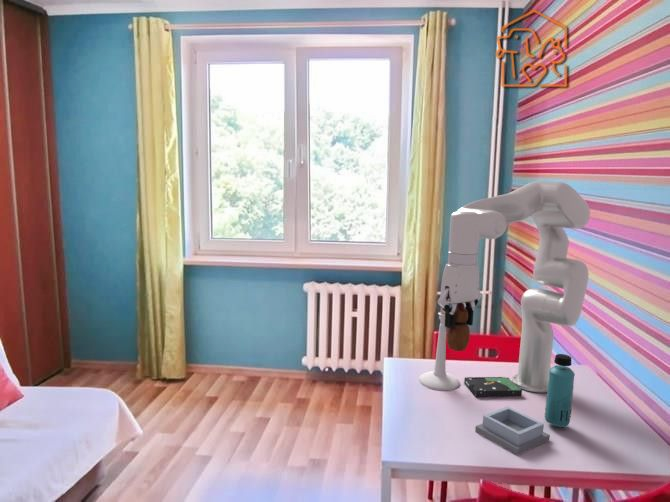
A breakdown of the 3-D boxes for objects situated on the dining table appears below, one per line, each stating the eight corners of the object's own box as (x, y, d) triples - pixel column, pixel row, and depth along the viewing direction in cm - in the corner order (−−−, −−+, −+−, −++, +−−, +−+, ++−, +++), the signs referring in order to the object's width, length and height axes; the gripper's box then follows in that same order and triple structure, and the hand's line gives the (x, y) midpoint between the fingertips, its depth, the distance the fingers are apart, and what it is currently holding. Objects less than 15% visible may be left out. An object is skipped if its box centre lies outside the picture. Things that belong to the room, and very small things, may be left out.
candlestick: (457, 375, 168) (463, 288, 163) (461, 392, 156) (468, 298, 151) (418, 372, 170) (423, 286, 165) (419, 388, 158) (425, 295, 153)
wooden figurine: (444, 344, 138) (447, 290, 136) (465, 344, 138) (468, 291, 135) (448, 353, 131) (451, 297, 129) (470, 354, 131) (474, 298, 129)
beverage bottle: (558, 434, 132) (566, 362, 129) (537, 422, 138) (544, 353, 135) (575, 429, 135) (583, 358, 132) (554, 418, 141) (561, 349, 138)
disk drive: (475, 399, 152) (522, 398, 154) (476, 391, 152) (523, 389, 153) (463, 385, 162) (507, 383, 164) (463, 377, 162) (507, 375, 164)
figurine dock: (506, 418, 140) (508, 403, 139) (549, 440, 129) (551, 424, 128) (475, 431, 132) (476, 415, 132) (517, 455, 122) (518, 437, 121)
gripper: (474, 254, 138) (470, 317, 141) (428, 259, 129) (424, 327, 132) (496, 258, 132) (491, 324, 135) (449, 264, 123) (445, 335, 126)
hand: (458, 325), depth 133 cm, fingers closed on wooden figurine, 5 cm apart
